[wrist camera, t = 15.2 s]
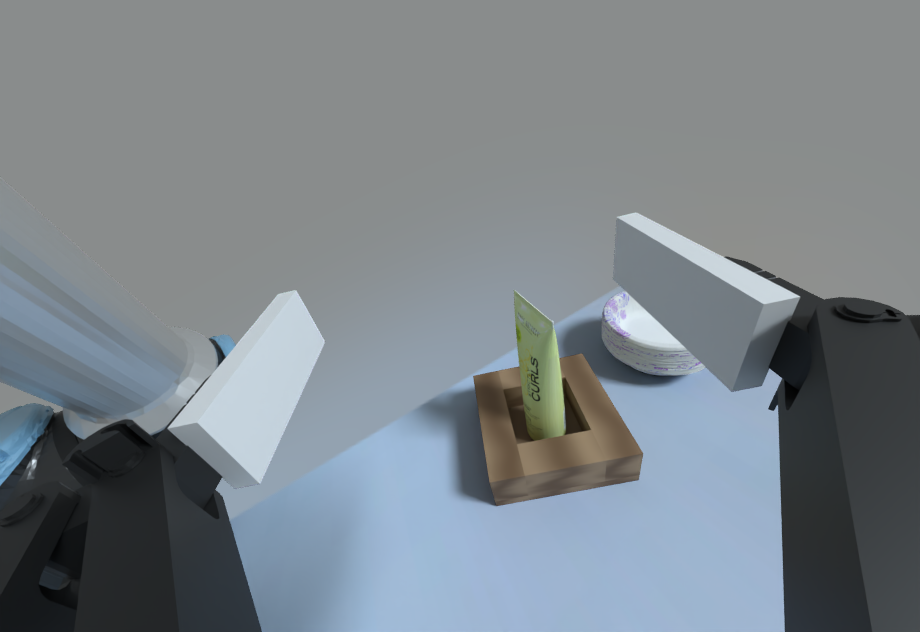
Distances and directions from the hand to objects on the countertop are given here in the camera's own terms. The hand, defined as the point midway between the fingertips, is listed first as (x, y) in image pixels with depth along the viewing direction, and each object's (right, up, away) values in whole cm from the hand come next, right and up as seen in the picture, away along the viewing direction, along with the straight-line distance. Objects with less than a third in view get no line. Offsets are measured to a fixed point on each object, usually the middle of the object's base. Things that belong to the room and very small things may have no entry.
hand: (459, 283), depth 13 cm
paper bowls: (+30, -7, +37) cm, 48 cm away
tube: (+11, -16, +29) cm, 35 cm away
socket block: (+11, -17, +29) cm, 36 cm away
